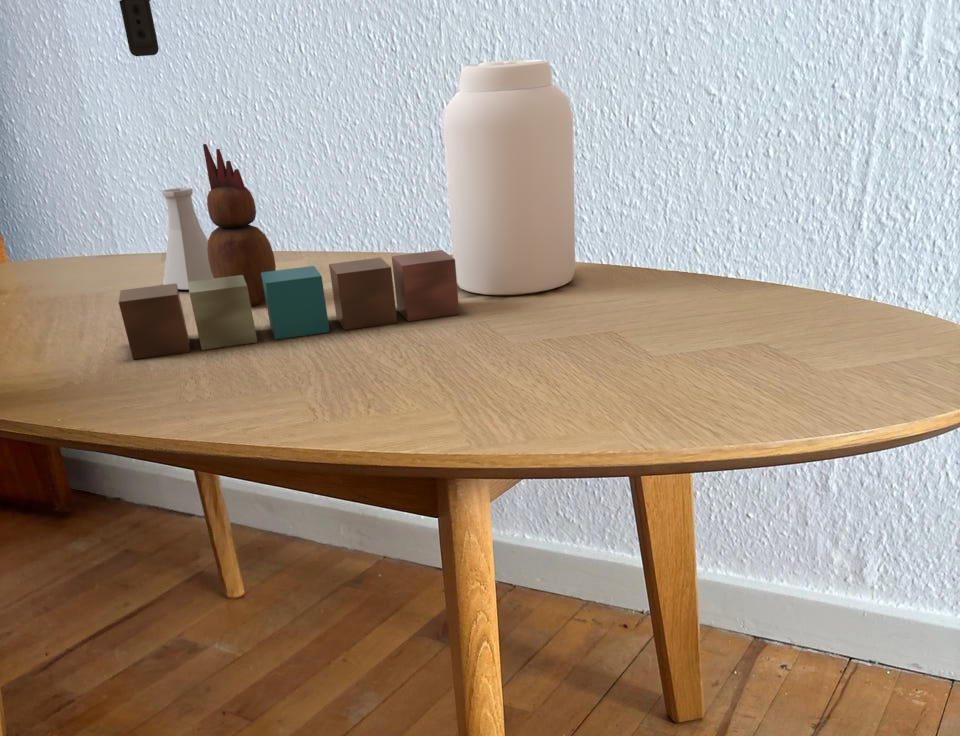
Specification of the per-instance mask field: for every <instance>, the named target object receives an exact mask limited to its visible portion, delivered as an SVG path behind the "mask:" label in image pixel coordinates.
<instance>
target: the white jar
mask: <svg viewBox="0 0 960 736" xmlns="http://www.w3.org/2000/svg"><path fill="white" fill-rule="evenodd" d="M459 87H460V88H459V90H460V91H458V92H456V93H455V94H454V96H453V97H452V99H450V101H449V102H448V104H446V106H445V110H444V116H443V123H442V132H443V143H444V158H445V170H446V171H445V172H446V183H447V195H448V196H447V197H448V209H449V221H450V222H449V223H450V235H451V248H452V257H453V258H454V259H455V265H456V278H457V286H458V287H459V288H460V289H461V290H464V291H466V292H470V293H473V294H479V295H484V296H519V295H520V296H521V295H530V294H536V293H537V294H538V293H541V292H547V291H550V290H554V289H556V288H557V289H558V288H560V287H562V286H566V284H568V283H570V282H571V281H573V278H574V274H575V272H576V224H575V223H576V217H575V154H574V153H575V152H574V114H573V110H572V106H571V103H570V99H569V98H570V97H568V96H567V94H565V93H564V91H562V89H561V88H559V87H558V86H557V85H556V84H553V70H552V68H551V65H550V62H549V61H547V60H545V59H525V60H524V59H522V60H515V59H512V60H500V61H499V60H496V61H485V62H480V63H474V64H468V65H466V66H464V67H462V68H461V72H460V75H459Z"/></svg>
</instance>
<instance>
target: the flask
mask: <svg viewBox="0 0 960 736" xmlns="http://www.w3.org/2000/svg"><path fill="white" fill-rule="evenodd" d="M160 192H161V195H162V197H163V198H164V199H165V201H166V207H167V214H168V234H167V235H168V236H167V244H166V245H167V246H166V253H165V254H166V255H165V263H164V270H163V278H162V285H167V284H174V283H177V287H178V290H189V286H188V282H190V281H198V280H206V279H214V278H213V275H212V272H211V269H210V265H209V260H208V251H207V248H208V238H207V236H206V235H205V233H204V231H203V229H202V227H201V225H200V222H199V219H198V217H197V214H196V211H195V209H194V204H193V199H192V196H193V193H194V190H193V188H191V187H173V188H167V189H164V190H161V191H160Z"/></svg>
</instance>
